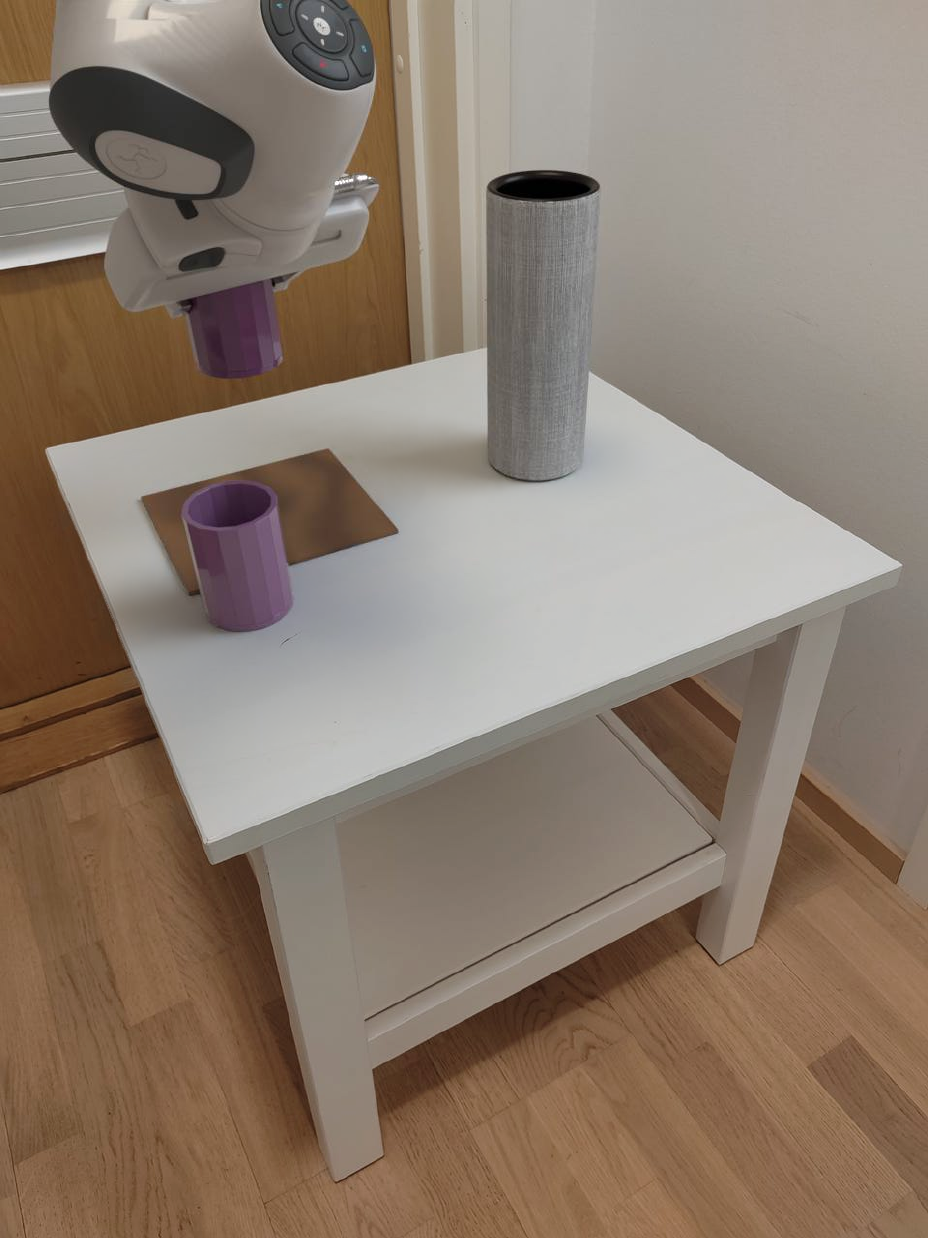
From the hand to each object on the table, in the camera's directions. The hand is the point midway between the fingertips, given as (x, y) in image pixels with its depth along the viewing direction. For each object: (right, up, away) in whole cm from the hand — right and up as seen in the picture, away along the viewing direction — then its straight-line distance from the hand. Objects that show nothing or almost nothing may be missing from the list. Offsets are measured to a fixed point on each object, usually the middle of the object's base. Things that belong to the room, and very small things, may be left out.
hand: (225, 295), depth 79 cm
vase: (+27, -10, +21) cm, 36 cm away
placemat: (+1, -17, +13) cm, 21 cm away
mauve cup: (+1, -26, +3) cm, 26 cm away
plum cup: (0, -5, +3) cm, 5 cm away
